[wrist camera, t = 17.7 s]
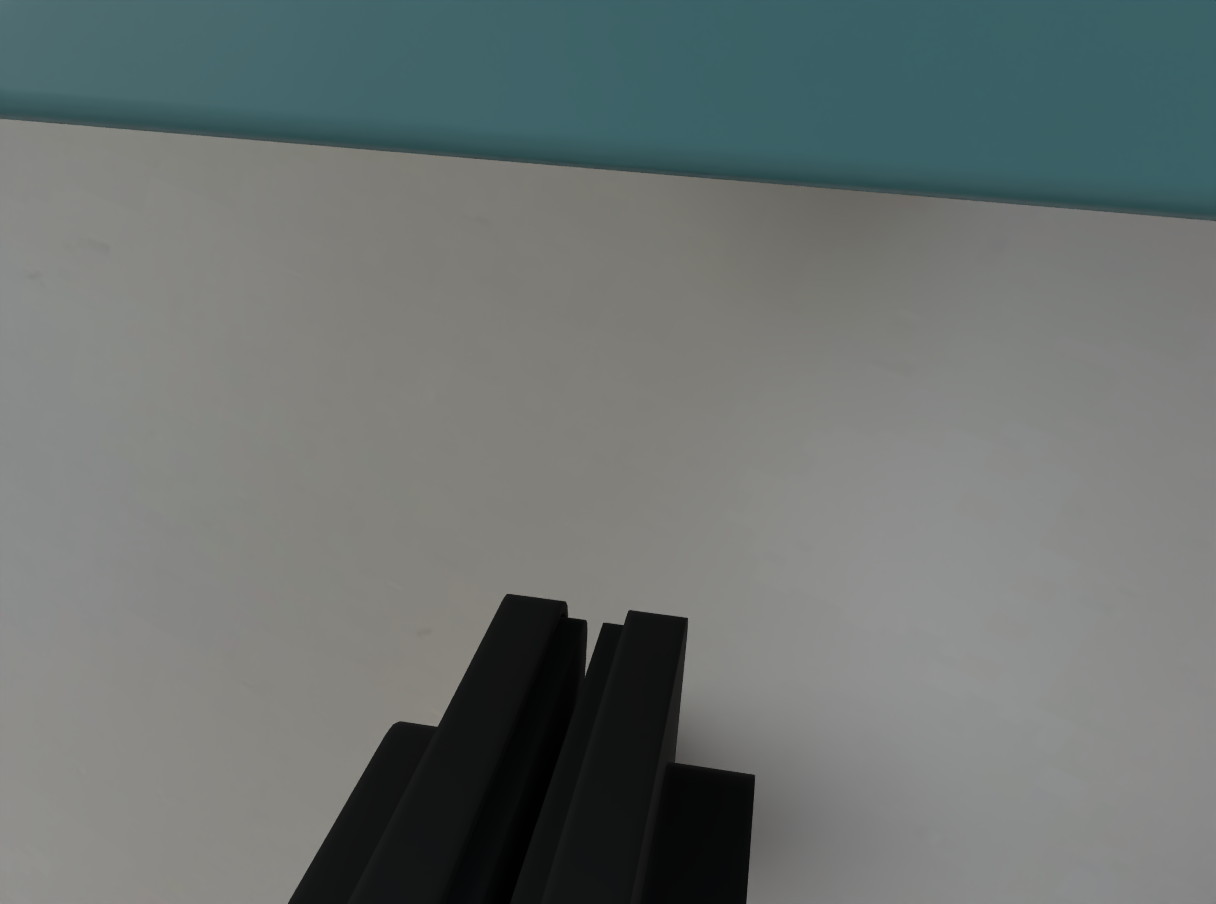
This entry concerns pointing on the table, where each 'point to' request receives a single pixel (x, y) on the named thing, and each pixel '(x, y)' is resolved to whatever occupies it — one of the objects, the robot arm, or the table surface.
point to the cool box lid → (669, 87)
